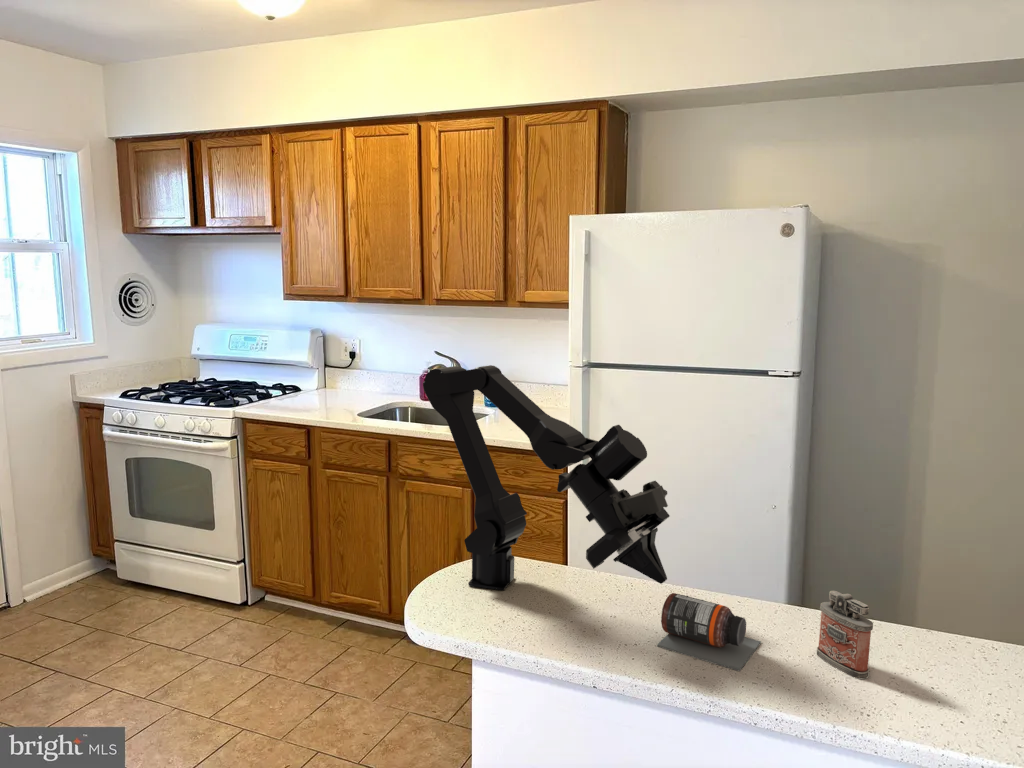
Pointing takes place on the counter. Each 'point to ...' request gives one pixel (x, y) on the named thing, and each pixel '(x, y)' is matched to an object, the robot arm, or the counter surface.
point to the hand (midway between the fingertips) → (664, 581)
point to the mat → (712, 650)
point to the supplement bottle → (702, 621)
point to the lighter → (845, 634)
